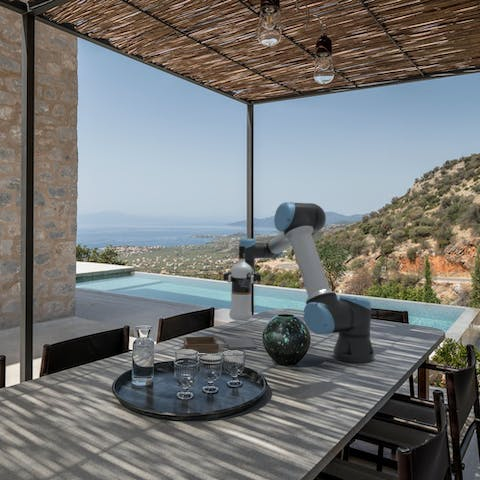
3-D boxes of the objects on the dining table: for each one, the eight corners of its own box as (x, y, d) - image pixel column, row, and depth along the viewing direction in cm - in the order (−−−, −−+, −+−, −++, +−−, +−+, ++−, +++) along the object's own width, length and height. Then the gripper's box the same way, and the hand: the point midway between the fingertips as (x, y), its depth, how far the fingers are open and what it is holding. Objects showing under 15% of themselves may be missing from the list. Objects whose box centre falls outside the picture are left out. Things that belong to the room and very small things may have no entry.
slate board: (256, 349, 185) (256, 346, 185) (229, 349, 183) (229, 347, 183) (249, 340, 199) (249, 338, 199) (224, 341, 197) (224, 338, 197)
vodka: (240, 315, 197) (242, 245, 196) (256, 318, 191) (258, 246, 190) (224, 318, 191) (226, 245, 190) (240, 321, 184) (241, 246, 183)
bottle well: (218, 354, 176) (218, 344, 176) (185, 355, 174) (185, 345, 174) (214, 346, 188) (214, 336, 188) (183, 346, 186) (183, 337, 186)
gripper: (268, 283, 207) (266, 290, 185) (221, 281, 209) (214, 288, 186) (268, 266, 207) (267, 271, 184) (221, 265, 209) (214, 269, 186)
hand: (240, 279), depth 186 cm, fingers closed on vodka, 8 cm apart
